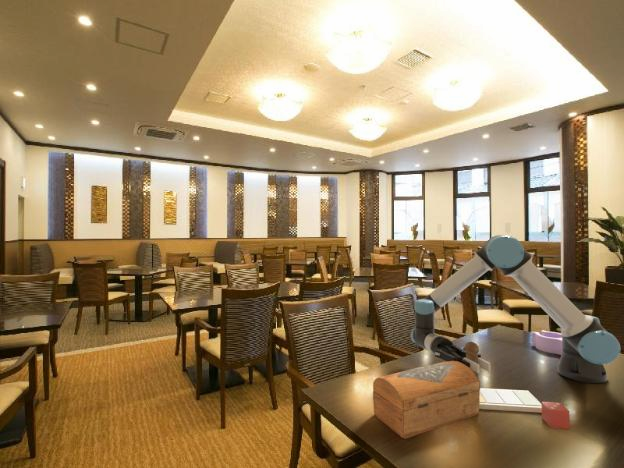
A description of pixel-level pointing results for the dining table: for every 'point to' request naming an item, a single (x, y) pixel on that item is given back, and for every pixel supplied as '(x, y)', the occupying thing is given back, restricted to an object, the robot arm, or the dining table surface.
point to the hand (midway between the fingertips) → (483, 368)
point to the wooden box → (426, 397)
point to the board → (508, 400)
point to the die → (555, 415)
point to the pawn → (472, 353)
